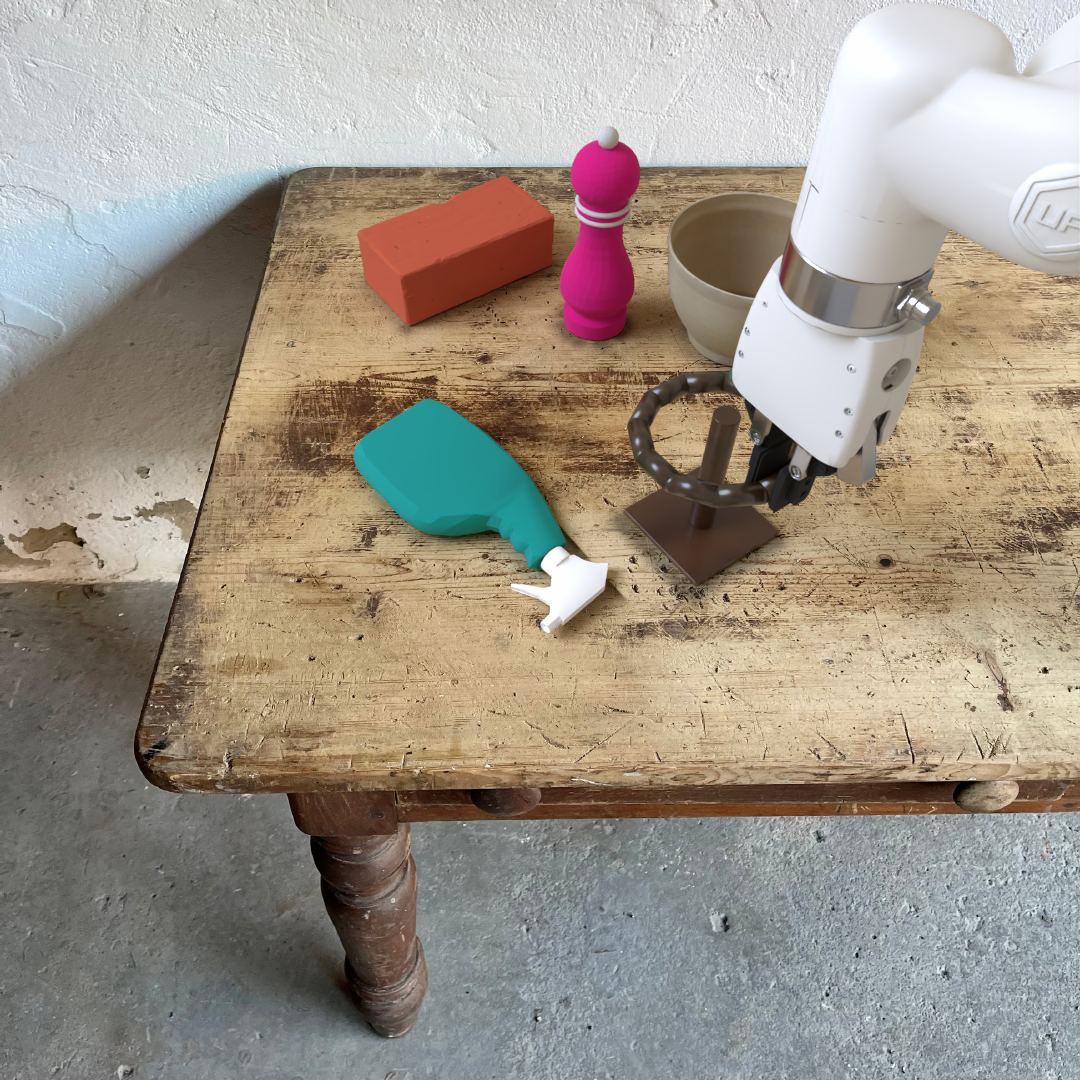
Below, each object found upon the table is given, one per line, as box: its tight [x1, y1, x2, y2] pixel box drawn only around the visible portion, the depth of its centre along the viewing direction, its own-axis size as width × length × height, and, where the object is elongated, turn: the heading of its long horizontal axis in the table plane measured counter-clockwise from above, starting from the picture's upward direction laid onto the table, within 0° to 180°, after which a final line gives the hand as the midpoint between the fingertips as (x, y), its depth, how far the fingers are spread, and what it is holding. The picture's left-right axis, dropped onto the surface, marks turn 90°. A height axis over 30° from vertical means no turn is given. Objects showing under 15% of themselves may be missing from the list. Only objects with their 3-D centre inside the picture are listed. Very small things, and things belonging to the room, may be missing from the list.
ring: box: [626, 370, 798, 508], centre depth 65 cm, size 13×13×2 cm
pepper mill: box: [559, 125, 641, 341], centre depth 82 cm, size 7×7×20 cm
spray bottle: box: [353, 398, 609, 634], centre depth 73 cm, size 3×11×24 cm
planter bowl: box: [667, 191, 798, 367], centre depth 84 cm, size 16×16×11 cm
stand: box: [622, 405, 780, 587], centre depth 68 cm, size 9×9×13 cm
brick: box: [356, 175, 556, 326], centre depth 92 cm, size 18×9×6 cm, turn 126°
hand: (774, 489), depth 62 cm, fingers closed on ring, 1 cm apart
